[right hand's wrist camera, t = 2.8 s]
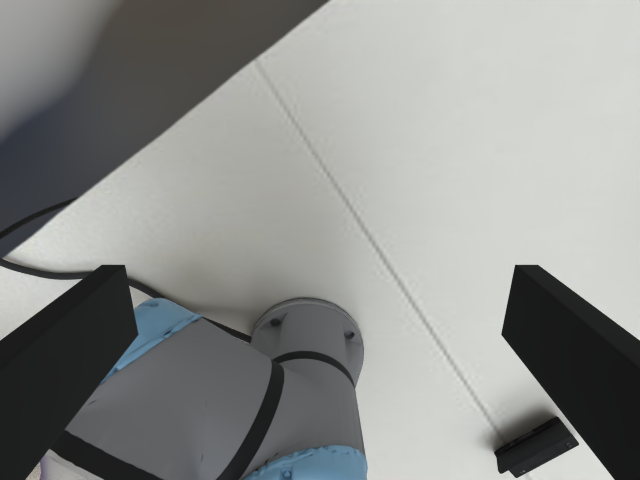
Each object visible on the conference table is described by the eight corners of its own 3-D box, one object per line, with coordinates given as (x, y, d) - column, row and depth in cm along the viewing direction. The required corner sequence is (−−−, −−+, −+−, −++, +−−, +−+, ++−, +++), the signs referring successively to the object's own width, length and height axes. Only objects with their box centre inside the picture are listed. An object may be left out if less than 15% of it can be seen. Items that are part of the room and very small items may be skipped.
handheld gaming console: (528, 489, 57) (538, 520, 48) (489, 449, 60) (491, 471, 51) (582, 437, 56) (603, 460, 47) (539, 399, 59) (550, 413, 50)
